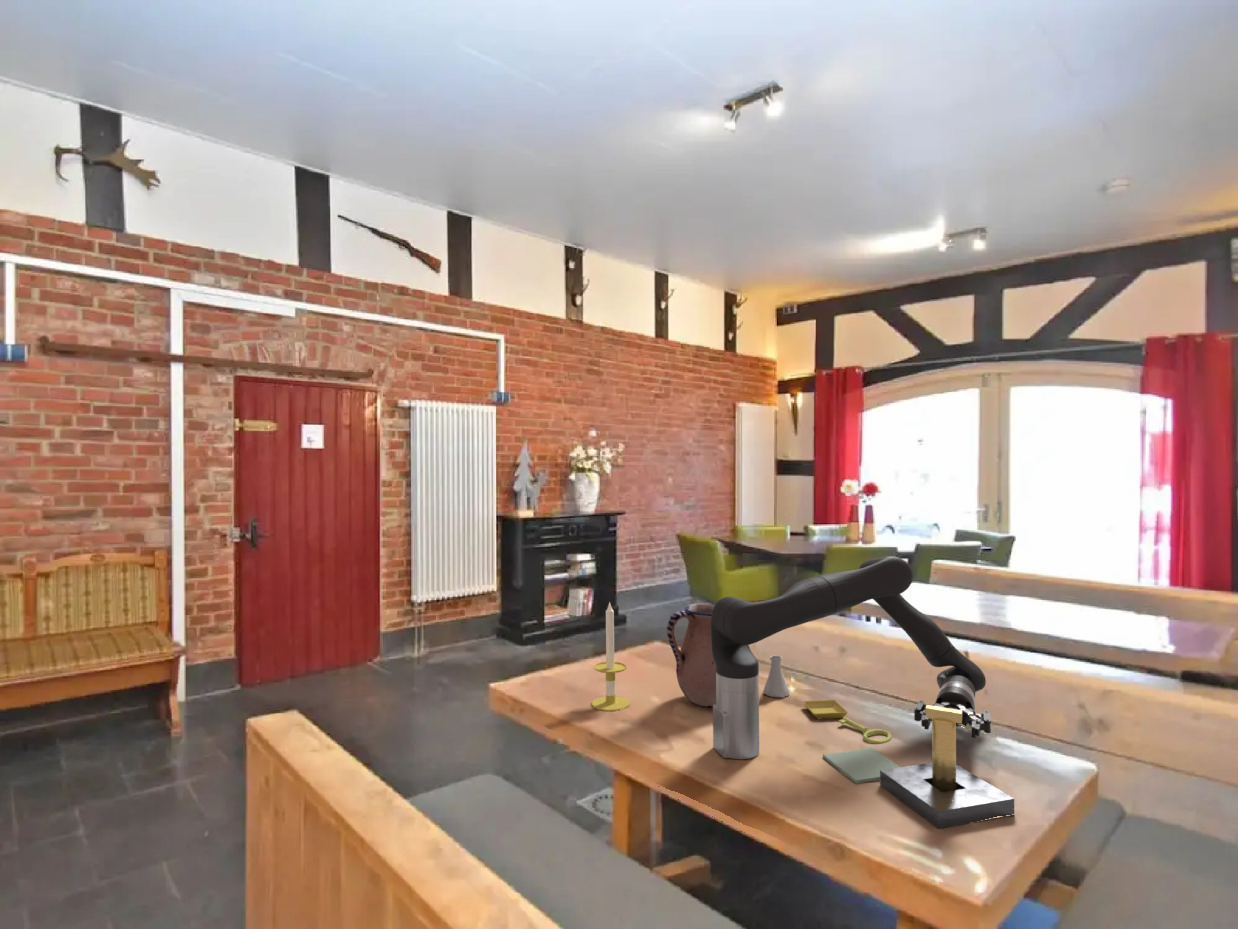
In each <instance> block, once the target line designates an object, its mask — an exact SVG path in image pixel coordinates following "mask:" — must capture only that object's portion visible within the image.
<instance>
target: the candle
mask: <svg viewBox="0 0 1238 929" xmlns="http://www.w3.org/2000/svg"><path fill="white" fill-rule="evenodd" d="M614 614H615V610H613V607H612V605H611V602H610V601H609V603H608V605H607V609H606V610H605V651H606V652H605V654H606V655H605V661H604V662H603V661H602V662H599V663H597V664H595V665H594V667H593V669H594V670H595V671H597V672H599V673H602V674H603V673H605V696H602V697H601V696H600V697H598V698H595V699H594V700H593V701H591V707H593V709H595V708H596V709H595V710H598V709H599V710H598V711H602V710H603V711H602V712H616V710H618V711H621V710H620V709H623V708H625V707H627V705H629V704H631V703H630V701H629V700H628V699H627V698H624V697H621V696H617V695H616V673H617V674H618V673H620V672H621V673H622V672H624V671H625V670H627V665H626V664H625V663H623V662H619V661H615V615H614ZM629 706H630V705H629ZM627 708H628V707H627ZM625 709H626V708H625ZM623 710H624V709H623Z"/></svg>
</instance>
